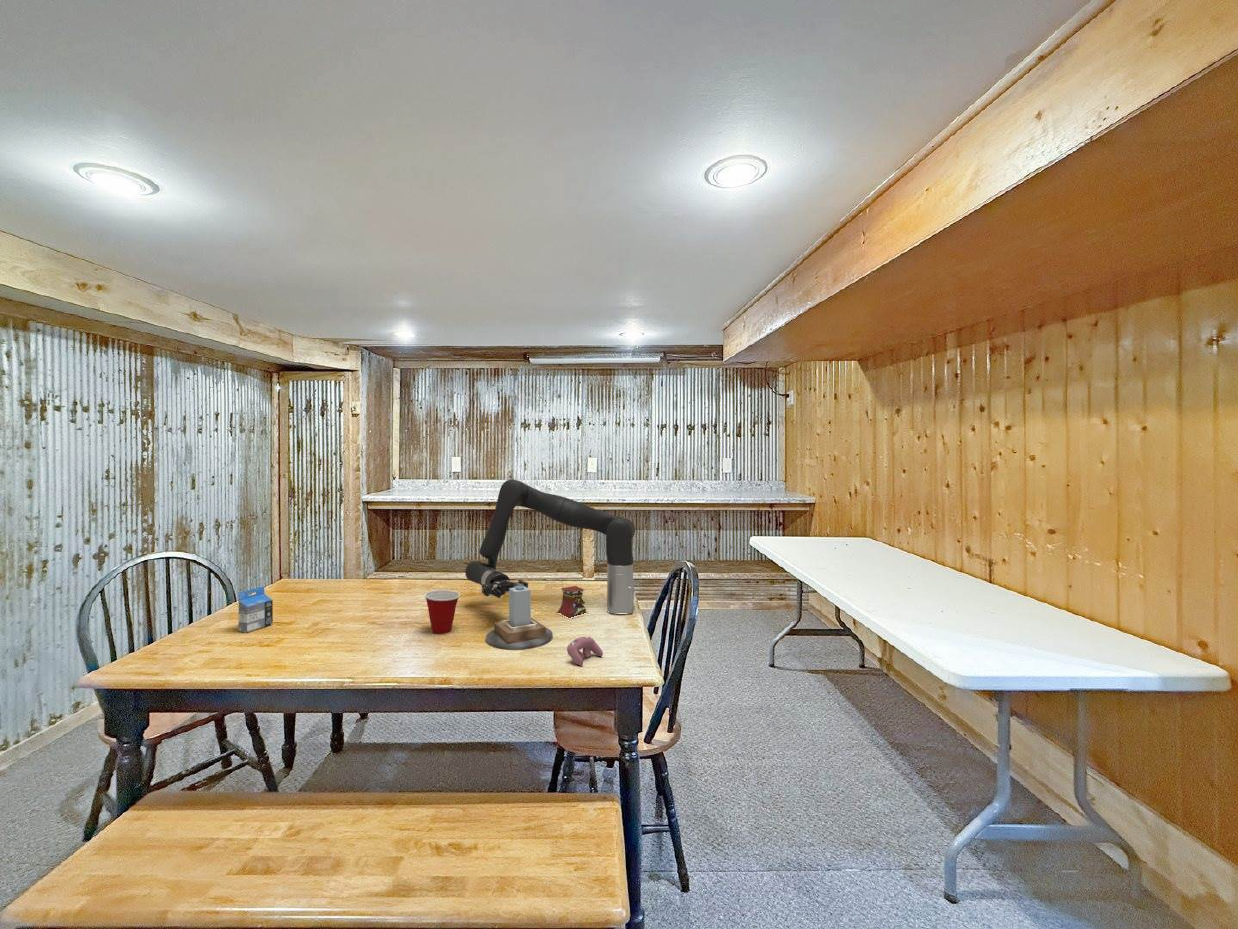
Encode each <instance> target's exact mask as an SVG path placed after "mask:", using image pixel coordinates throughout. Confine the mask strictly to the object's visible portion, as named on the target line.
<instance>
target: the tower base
mask: <svg viewBox="0 0 1238 929" xmlns="http://www.w3.org/2000/svg"><path fill="white" fill-rule="evenodd" d="M553 634H554V633H553V631H552V630H551V629H549V628H548V627H546V626H544V625H543V624H541V623H540V622H539V621H537V620H536V619H535V618H533V617H531V624H530V625H524V626H518V627H512V626H511V625H510V624H509V619H504V620H501V621H497V622H494V623H493V629H492V630H490V631H489V632H487V634H486V635H485V642H486V644H487V645H488V646H490V645H491V646H490V647H492V646H493V647H492V648H495V647H496V648H495V649H500V650H507V651H508V650H509V651H516V650H519V651H521V650H529V649H534V648H535V649H536V648H539V647H541V645H542V646H544V645H543V644H545V645H546V644H548V643H550V642H551V641H552V640H553V636H554V635H553ZM551 639H552V640H551ZM538 646H539V647H538Z"/></svg>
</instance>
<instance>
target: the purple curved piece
mask: <svg viewBox="0 0 1238 929" xmlns="http://www.w3.org/2000/svg"><path fill="white" fill-rule="evenodd" d="M581 650H582V651H581ZM566 651H567V654H568V656H569V657H570V658H571V660H572V661H573V662H574V663H575V665H577V664H578V665H582V666H583V664H584V661H583V660H584V658H585V657H587V658H589V656H590V657H591V655H592V653H593V654H594V655H595V656H596V657H598V656H602V657H603V655H604V654H603V653H604V652H603V650H602V648H601V646H599V645H598V643H597V642H596V641H595V639H594V638H593V637H591V636H581V637H577V638H575V639H574V640H572V641H571V642H570V643H569V644H568V645H567V646H566ZM578 665H577V666H578Z"/></svg>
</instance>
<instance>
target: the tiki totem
mask: <svg viewBox="0 0 1238 929" xmlns="http://www.w3.org/2000/svg"><path fill="white" fill-rule="evenodd" d="M561 591H562V599H561V605H560V607H559V608H558V610H557V611H556V614H557V613H561V614H562V615H564V616H566V617H568V618H571V617H574V616H577V615H581V614H584V613H587V614H588V612H587V611H586V610H587V609H586V606H585V604H586V602H585V600H584V599H583V598H582V597H583V594H584V591H585V590H584V588H582V587H580V586H577V585H574V586H566V587H561Z"/></svg>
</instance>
